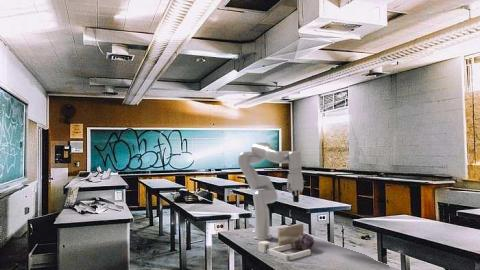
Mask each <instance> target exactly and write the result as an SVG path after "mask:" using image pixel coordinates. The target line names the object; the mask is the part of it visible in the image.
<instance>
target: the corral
mask: <svg viewBox="0 0 480 270" xmlns="http://www.w3.org/2000/svg"><path fill="white" fill-rule="evenodd" d="M277 246H278V245H277ZM291 249H292V247H291V244H287V245H283V246H278V247H276V246H275V247H272V248H271V247H270V249H267V252H266V254H267V255H271V256H274V257H276V258H279V259H282V260H285V261H292V260H296V259H299V258H304V257H306V256H310V255H311V254H312V253H311V252H312V251H311V250H312V249H311V250H309V249H308V250H301V251H298V252H294V253H287V254H286V253H284V252H283V251H288V250H291Z"/></svg>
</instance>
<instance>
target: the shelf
mask: <svg viewBox="0 0 480 270" xmlns="http://www.w3.org/2000/svg"><path fill="white" fill-rule="evenodd" d="M302 233H303V234H304V224H303V223H299V224H293V225H289V226H284V227H278V228H277V245H275V247H278V246H283V245H287V244H291V248H292V247H295V241H297V240H298V239H299V235H300V234H302Z"/></svg>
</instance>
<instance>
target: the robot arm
mask: <svg viewBox="0 0 480 270" xmlns="http://www.w3.org/2000/svg"><path fill="white" fill-rule="evenodd" d="M250 150H251V151H244V152H241V153H240V154H239V155H238V158H237V163H238V167H239V168H240V171H241V172H242V174H243V175H244V177H245V180H246V182H247V184H248V186H249V189H251V190H252V191H255V192H254V193H253V195H252V199H253V206H254V224H255V225H254V230H252V233H254V234H253V236H252V238H253V239H255V240H260V241H268V240H271V239H272V238H273V236H272V234H270V209H269V207H268V204H273V203H275V202H276V201H277V200H278V192H277V190H276V188H275V187H274V184H273V182H272V180H271V179H270V178H269V176H267V175H259V174H258V172H257V170H256V168H255V167H254V166H253V165H251V164H259V163H262V162H263V161H264V160H265V159H266V160H268V162H271V163H275V164H288V174H287V179H286V189H287V191H288V193H289V194H291V195H292V199H293V200H292V202H293V203H299V202H300V193H302V192H303V190H304V177H303V174H302V173H303V169H302V152H301V151H299V150H297V151H295V150H294V151H291V150H275V147H273V146H272V145H271V143H270V142H269V143H268V142H256V143H253V144H252V146H251V149H250Z"/></svg>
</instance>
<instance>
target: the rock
mask: <svg viewBox="0 0 480 270" xmlns="http://www.w3.org/2000/svg"><path fill="white" fill-rule="evenodd" d="M314 241H315V240H314V237H312V235H309V234H307V233H304V232H303V233H302V234H300V235H299V239H298V240H297V241H295V246H294V249H296V250H301V251H304V250H308V249H309V250H312V248H313V246H314V244H315V242H314Z"/></svg>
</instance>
